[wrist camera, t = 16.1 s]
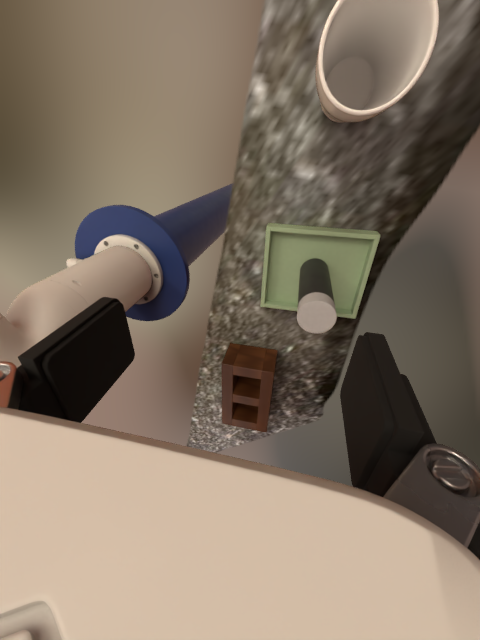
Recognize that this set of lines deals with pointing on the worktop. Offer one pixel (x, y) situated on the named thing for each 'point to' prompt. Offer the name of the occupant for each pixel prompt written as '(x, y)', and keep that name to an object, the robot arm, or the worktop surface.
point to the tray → (322, 243)
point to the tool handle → (315, 297)
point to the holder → (247, 386)
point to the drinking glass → (373, 55)
